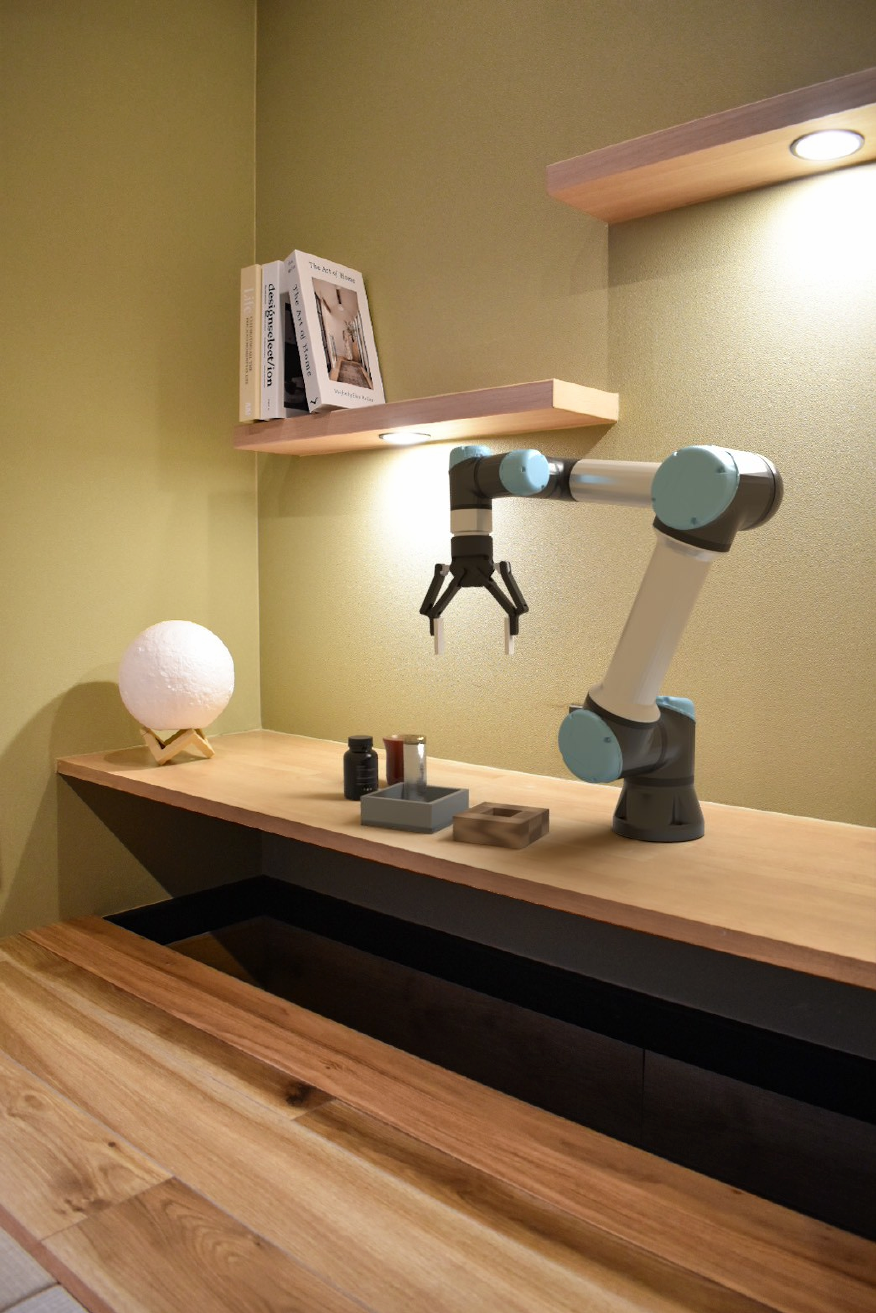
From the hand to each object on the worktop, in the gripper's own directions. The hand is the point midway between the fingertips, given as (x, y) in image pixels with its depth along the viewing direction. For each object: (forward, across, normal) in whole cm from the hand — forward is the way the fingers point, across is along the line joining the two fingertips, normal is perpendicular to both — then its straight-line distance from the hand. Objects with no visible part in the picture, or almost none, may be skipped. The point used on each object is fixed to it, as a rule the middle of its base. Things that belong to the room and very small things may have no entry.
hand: (474, 654), depth 182 cm
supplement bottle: (+28, +26, -4) cm, 39 cm away
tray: (+29, +8, +9) cm, 31 cm away
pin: (+28, +8, +9) cm, 30 cm away
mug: (+28, +25, -18) cm, 42 cm away
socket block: (+29, -10, +13) cm, 33 cm away
